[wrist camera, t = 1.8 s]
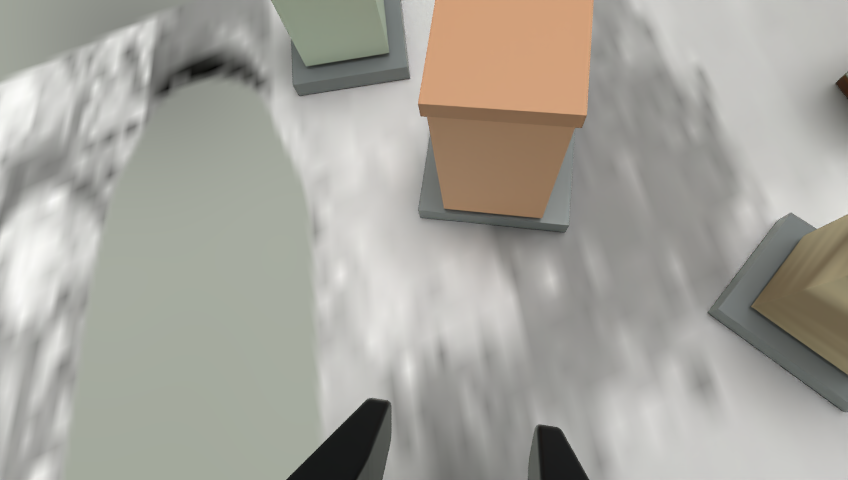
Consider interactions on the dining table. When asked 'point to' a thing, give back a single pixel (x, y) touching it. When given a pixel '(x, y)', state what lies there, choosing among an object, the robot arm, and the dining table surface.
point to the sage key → (334, 28)
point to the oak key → (813, 293)
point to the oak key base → (764, 332)
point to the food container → (843, 84)
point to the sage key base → (357, 62)
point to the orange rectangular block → (504, 98)
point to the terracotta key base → (551, 220)
